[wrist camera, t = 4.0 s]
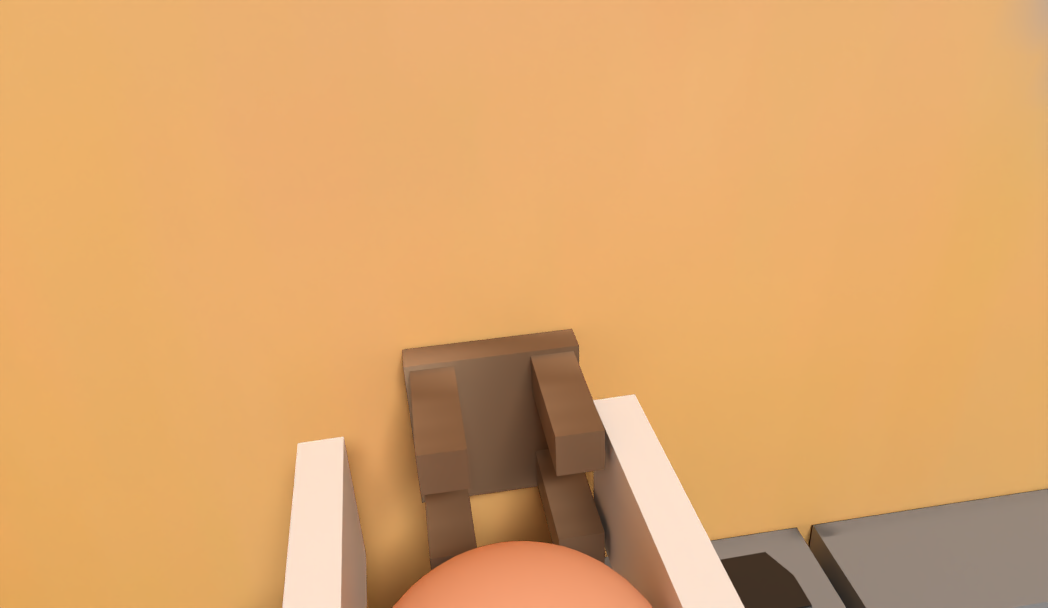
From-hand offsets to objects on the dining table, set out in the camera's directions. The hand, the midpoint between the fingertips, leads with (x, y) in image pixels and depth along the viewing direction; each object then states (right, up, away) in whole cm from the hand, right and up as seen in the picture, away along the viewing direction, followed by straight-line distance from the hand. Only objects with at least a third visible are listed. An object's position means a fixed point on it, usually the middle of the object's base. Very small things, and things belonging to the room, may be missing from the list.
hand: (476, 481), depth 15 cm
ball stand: (0, +1, +2) cm, 2 cm away
